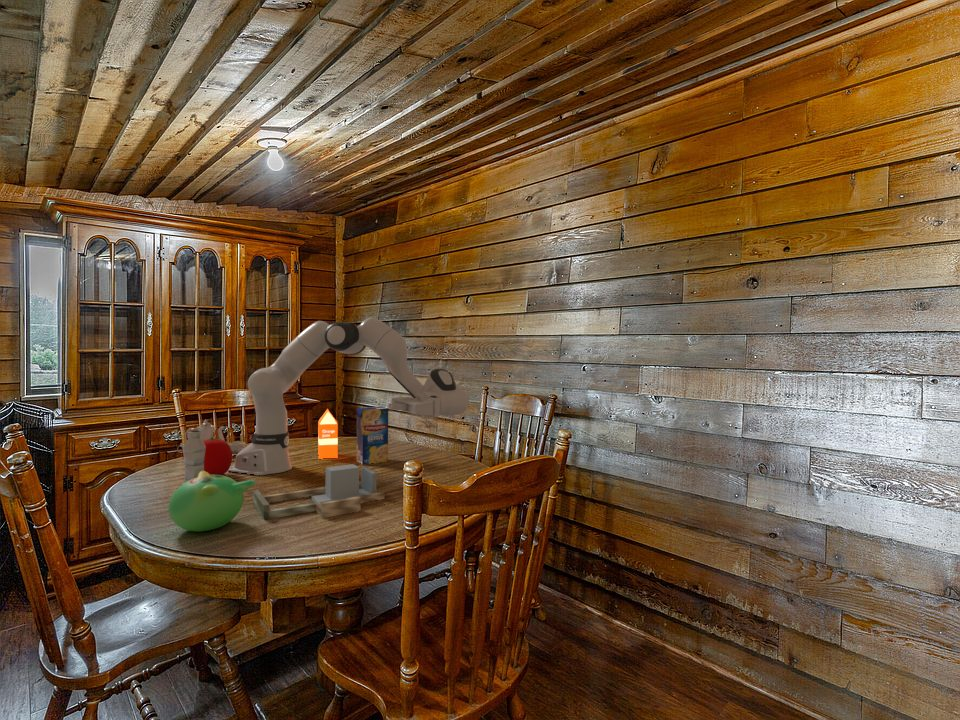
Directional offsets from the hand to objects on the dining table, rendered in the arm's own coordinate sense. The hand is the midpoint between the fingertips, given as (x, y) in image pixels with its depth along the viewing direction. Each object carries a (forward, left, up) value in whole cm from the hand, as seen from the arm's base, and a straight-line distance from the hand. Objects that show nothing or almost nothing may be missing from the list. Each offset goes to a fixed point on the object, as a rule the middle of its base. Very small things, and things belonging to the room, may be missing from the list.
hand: (389, 406), depth 173 cm
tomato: (-67, +7, -28) cm, 73 cm away
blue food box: (-18, +38, -28) cm, 51 cm away
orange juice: (-39, +43, -28) cm, 65 cm away
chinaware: (-86, +33, -28) cm, 97 cm away
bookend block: (-12, -10, -28) cm, 32 cm away
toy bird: (-37, -41, -28) cm, 62 cm away
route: (-15, -17, -28) cm, 36 cm away
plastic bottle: (-60, -13, -28) cm, 68 cm away
